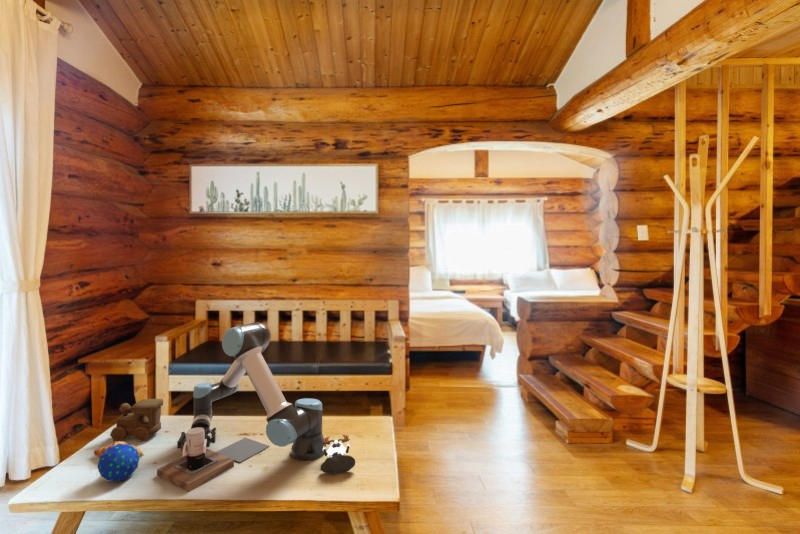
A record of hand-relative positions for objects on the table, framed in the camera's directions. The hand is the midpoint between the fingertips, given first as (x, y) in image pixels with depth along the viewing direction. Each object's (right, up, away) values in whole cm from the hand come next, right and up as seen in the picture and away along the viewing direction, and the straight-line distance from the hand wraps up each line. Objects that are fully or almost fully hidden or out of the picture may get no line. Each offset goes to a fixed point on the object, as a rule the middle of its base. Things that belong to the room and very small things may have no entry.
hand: (194, 451), depth 158 cm
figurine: (+54, -11, +12) cm, 57 cm away
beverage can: (-2, -9, +5) cm, 10 cm away
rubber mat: (+10, -10, +23) cm, 27 cm away
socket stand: (-2, -11, +5) cm, 12 cm away
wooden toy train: (-44, -9, +34) cm, 56 cm away
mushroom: (-30, -11, 0) cm, 32 cm away
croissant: (-40, -10, +15) cm, 44 cm away
